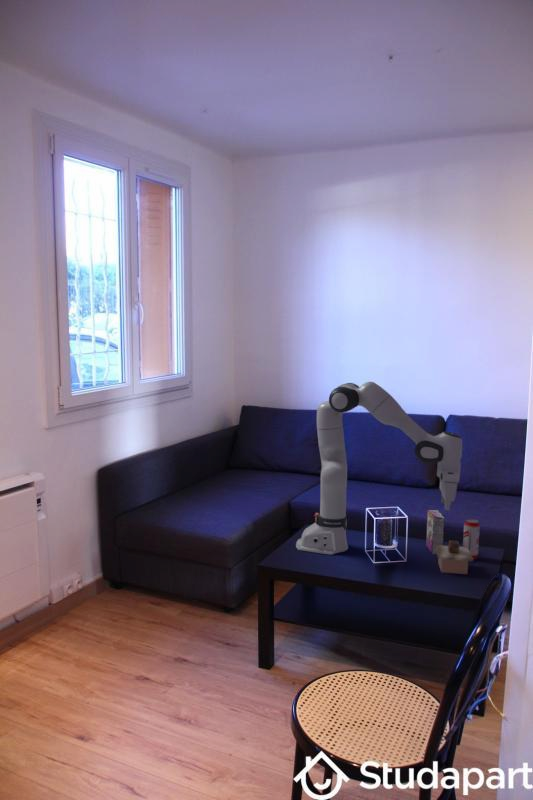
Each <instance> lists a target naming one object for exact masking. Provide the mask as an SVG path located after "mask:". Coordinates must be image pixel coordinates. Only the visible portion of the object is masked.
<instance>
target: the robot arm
mask: <svg viewBox="0 0 533 800" xmlns="http://www.w3.org/2000/svg"><path fill="white" fill-rule="evenodd" d="M397 401H398V400H397V399H395V398H394V397H393V396H392V395H391V394H390V393H389V392H388V391H387V390H386V389H384V388H383V387H382V386H380V385H379V384H377V383H375V382H374V381H367V382H364V383H362V385H360V386H359V385H357V384H355V383H354V382H347V383H343V384H340V385H339V386H337V387H336V388H334V389H333V390H332V391H331V392H330V394H329V397H328V400H327V401H322V402H321V403H320V404H319V405H318V406H317V408H316V430H317V442H318V449H319V456H320V463H321V470H320V497H319V499H320V505H319V512H315V514H314V523H312V524H310V525H309V526H307V527H306V528H305V529H304V530H303V532H302V534H301V538H298V539H297V541H296V542H295V548H296V549H297V550H298V551H304V552H310V553H318V554H324V555H331V556H333V555H335V554H338V553H342V552H343V553H344V552H346V551H347V550H349V546H348V541H347V535H346V534H347V533H346V532H347V531H346V529H347V525H348V524H347V522H348V519H347V514H346V511H347V489H348V487H347V485H348V484H347V483H348V462H347V453H346V444H345V435H344V434H345V433H344V425H343V424H344V423H343V414H344V413H347V412H350V411H351V410H354V409H355V408H356V407H357V408H358V407H359V406H360V407H363V408H364V409H365V410H366V411H368V413H369V414H371V416H373V417H374V418H375V419H376V420H377V421H379V422H380V423H381V424H383V425H386V426H392V427H396V428H397V429H399V430H401V431H402V432H403V433H404V434H405V435H406V436H407V437H409V438H410V439H411V440H412V441H413V442H414V443H415V444H416V445H415V447H414V455H415V457H416V459H417V460H418V461H420V463H421V462H422V463H426V464H427V463H428V464H429V463H430V464H431V463H437V466H436V467H437V468H436V469H437V470H436V476H437V477H438V478H439V490H440V492H441V503H442V504H444V510H445V511H450V509H451V508H450V507H451V504H452V502H455V501H456V500H455V499H456V497H457V496H456V495H457V489H458V483H460V478H461V465H462V464H461V459H462V456H463V440H462V439H463V438H462V437H461V436H460V435H459V434H457V433H454V432H452V431H442V432H441V433H438V434H437V435H436V434H433V433H430V432H428V431H426V430H425V429H424V428H423V427H422V426H421V425H419V424H418V423H417V422H416V421H415V420H414V419H413V418H412V417H410V416H409V414H408V413H407V412H406V411H405V409H404V408H402V406H401V405H400V404H399V403H398V402H397Z"/></svg>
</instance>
